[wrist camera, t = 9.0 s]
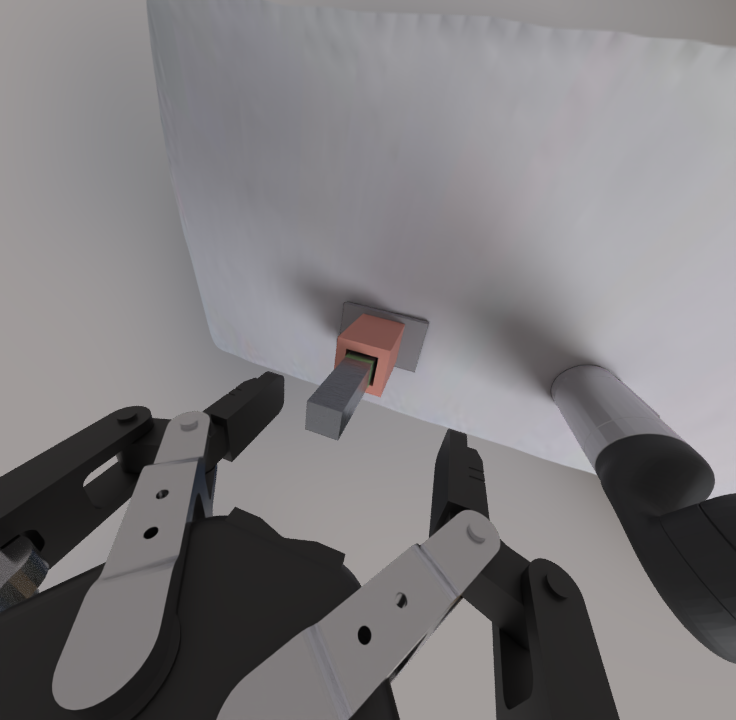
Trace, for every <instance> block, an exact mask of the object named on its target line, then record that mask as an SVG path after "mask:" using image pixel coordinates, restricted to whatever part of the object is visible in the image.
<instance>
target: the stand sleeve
mask: <svg viewBox="0 0 736 720" xmlns="http://www.w3.org/2000/svg"><path fill="white" fill-rule="evenodd" d="M428 324H429V322H427V321H423V320H419V319H415V318H411V317H407V316H403V315H399V314H395V313H391V312H387V311H383V310H379V309H375V308H371V307H367V306H363V305H359V304H355V303H351V302H345V303H344V306H343V315H342V323H341V331H340V335H339V336H338V339H337V348H336V357H335V365H334V369H335V368H336V367H337V366H338V365H339V363H340V362H341V361H342V360H343V359H344V358H345V356H346V355H347V353H349V352H350V351H351V350H353V351H356V352H360V353H363V354H367V355H370V356H374V357H378V363H377V368H376V373H375V375H374V377H373V378H372V380H371V382H370V385H369V387H368V388H367V389H366V391H365V392H366V393H369V394H372V395H375V396H379V397H381V394H382V392H383V390H384V388H385V385H386V383H387V381H388V379H389V377H390V374H391V372H392V370H393V368H394V367H397V368H401V369H405V370H408V371H412V372H415V369H416V366H417V362H418V359H419V355H420V352H421V349H422V345H423V342H424V338H425V335H426V331H427V328H428Z"/></svg>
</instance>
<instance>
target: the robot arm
mask: <svg viewBox="0 0 736 720" xmlns="http://www.w3.org/2000/svg"><path fill="white" fill-rule="evenodd" d="M551 394H552V397H553V400H554V401H555V403H556V405H557V406H558V408H559V410H560V412H561V414H562V415H563V417H564V419H565V420H566V422H567V424H568V426H569V427H570V429H571V431H572V432H573V434H574V436H575V438H576V439H577V441H578V443H579V444H580V446H581V448H582V450H583V451H584V453H585V455H586V456H587V458H588V460H589V461H590V463H591V465H592V467H593V468H594V470H595V472H596V473H597V475H598V477H599V479H600V480H601V485H602V487H603V490H604V492H605V494H606V495H607V497H608V499H609V501H610V503H611V504H612V506H613V508H614V510H615V512H616V514H617V516H618V518H619V520H620V522H621V524H622V526H623V529H624V531H625V533H626V534H627V537H628V539H629V541H630V543H631V545H632V547H633V549H634V551H635V553H636V555H637V557H638V559H639V561H640V562H641V564H642V566H643V568H644V570H645V572H646V573H647V575H648V577H649V578H650V580H651V582H652V583H653V585H654V587H655V588H656V590H657V591H658V593H659V594H660V596H661V597H662V599H663V600H664V601H665V603H666V604H667V606H668V607H669V608H670V609H671V611H672V612H673V613H674V615H675V616H676V617H677V618H678V620H679V621H680V622H681V623H682V624H683V625H684V627H685V628H686V629H687V630H688V631H689V632H690V633H691V634H692V635H693V636H694V637H695V638H696V639H697V640H698V641H699V642H700V643H702V644H703V645H704V646H705V647H707V648H708V649H709V650H710V651H712V652H713V653H715V654H716V655H718V656H719V657H722V658H723V659H725V660H727V661H729V662H733V663H736V493H735V494H728V495H723V496H719V497H715V498H712V499H709V500H706V499H707V498H708V497H709V495H710V494H711V492H712V490H713V488H714V484H715V478H714V473H713V471H712V469H711V467H710V465H709V464H708V463H707V462H706V460H705V459H704V458H703V457H702V456H701V455H700V454H698V453H697V452H696V451H695V450H694V449H693V448H692V447H691V446H690V445H688V444H687V443H686V442H685V441H684V440H683V439H682V438H681V437H680V436H679V435H678V434H676V433H675V432H674V431H673V430H672V429H671V428H670V427H669V426H668V425H666V424H665V423H664V422H663V421H662V420H661V419H660V416H659V415H658V414H657V413H656V412H655V411H654V410H653V409H652V408H651V407H650V406H649V405H647V404H646V403H645V402H644V401H643V400H642V399H641V398H640V397H639V396H637V395H636V394H635V393H634V392H633V391H632V390H631V389H630V388H629V387H628V386H626V385H625V384H624V383H623V382H622V381H619V380H618V379H617V378H616V377H615V376H613V375H612V374H611V373H610V372H609V371H607V370H606V369H604V368H602V367H598V366H593V365H582V366H577V367H573V368H571V369H568V370H566V371H564V372H563V373H561V374H560V375H559V376H558V377H557V378H556V379H555V381H554V382H553V385H552V388H551ZM283 404H284V377H283V376H282V375H278V374H276V373H272V372H269V371H268V372H265V373H264V374H263V375H261V376H260V377H259V378H258V379H257V378H253V379H250V380H248V381H245V382H243V383H242V384H240V385H239V386H238V387H236V389H233V390H232V391H231V392H229V394H226V395H225V396H223V397H222V398H221V399H219V400H218V401H217V402H215V403H214V404H212V405H211V406H210V407H208V408H207V409H205V410H204V411H203V412H198V411H192V412H187V413H183V414H180V415H178V416H176V417H175V418H173V419H172V420H171V419H170V420H169V419H157V418H152V415H151V412H150V410H149V409H148V408H146V407H143V406H132V407H126V408H123V409H120V410H117V411H115V412H113V413H111V414H109V415H108V416H106V417H104V418H102V419H101V420H99V421H97V422H95V423H94V424H92V425H90V426H88V427H87V428H85V429H83V430H81V431H80V432H78V433H76V434H75V435H73V436H71V437H69V438H68V439H66V440H64V441H62V442H60V443H59V444H57V445H55V446H54V447H52V448H50V449H48V450H47V451H45V452H43V453H41V454H40V455H38V456H36V457H34V458H33V459H31V460H29V461H27V462H26V463H24V464H22V465H21V466H19V467H17V468H15V469H14V470H12V471H10V472H8V473H7V474H5V475H3V476H1V477H0V720H400V718H399V714H398V711H397V707H396V703H395V700H394V696H393V692H392V688H391V683H392V682H393V680H394V679H395V678H396V677H397V676H398V675H399V673H400V672H401V671H402V670H403V669H404V668H405V667H406V665H407V664H408V663H409V662H410V660H412V658H413V657H414V656H415V655H416V654H417V652H418V651H419V650H420V648H421V647H422V646H423V645H424V644H425V642H426V641H427V640H428V639H429V637H430V636H431V635H432V634H433V633H434V631H435V630H436V629H437V628H438V627H439V626H440V624H441V623H442V622H443V621H444V620H445V618H446V617H447V616H448V615H449V614H450V613H451V612H452V610H453V609H454V608H455V607H456V606H457V605H458V603H459V602H460V601H461V600H462V599H463V598H465V599H466V600H467V601H468V602H469V603H471V604H472V605H473V606H474V607H475V608H476V609H478V610H479V611H480V612H481V613H482V614H484V615H485V616H486V617H487V618H488V619H489V620H491V621H492V630H493V654H494V676H495V697H496V718H497V720H620V719H619V716H618V712H617V709H616V706H615V702H614V699H613V696H612V692H611V689H610V686H609V682H608V679H607V676H606V672H605V669H604V666H603V663H602V659H601V656H600V652H599V649H598V646H597V642H596V639H595V636H594V633H593V629H592V626H591V622H590V619H589V615H588V612H587V609H586V605H585V602H584V599H583V596H582V594H581V592H580V590H579V588H578V586H577V585H576V583H575V582H574V581H573V579H572V578H571V577H570V576H569V575H568V574H567V573H566V572H565V571H564V570H563V569H562V568H561V567H559V566H558V565H557V564H555V563H553V562H551V561H549V560H546V559H541V558H538V559H535V560H533V561H532V562H529V561H528V560H526V559H525V558H523V557H522V556H521V555H519V554H518V553H516V552H515V551H514V550H512V549H511V548H509V547H508V546H507V545H505V543H504V542H503V541H501V539H500V537H499V534H498V532H497V530H496V528H495V527H494V525H493V524H492V523H491V522H490V520H489V512H488V504H487V495H486V487H485V483H484V482H485V478H484V474H483V472H484V471H483V462H482V459H481V457H480V456H479V454H478V452H477V450H475V449H472V448H469V447H467V435H466V434H465V433H462V432H458V431H455V430H452V429H448V430H447V433H446V435H445V437H444V440H443V442H442V445H441V448H440V450H439V452H438V455H437V459H436V463H435V472H434V483H433V496H432V508H431V519H430V531H429V539H428V540H426V541H425V542H424V543H423V544H421V545H419V544H415V545H413V546H411V547H410V548H409V549H407V550H406V551H405V552H404V553H402V554H401V555H400V556H399V557H398V558H396V559H395V560H394V561H393V562H391V563H390V564H389V565H388V566H387V567H385V568H384V569H383V570H382V571H380V572H379V573H378V574H377V575H376V576H374V577H373V578H372V579H371V580H370V581H368V582H367V583H366V584H365V585H363V586H362V587H361V585H360V583H359V582H358V580H357V579H356V577H355V576H354V575H353V574H352V572H351V571H350V570H349V569H348V568H347V567H345V565H343V562H344V557H345V554H344V553H341V552H339V551H337V550H335V549H332V548H330V547H328V546H325V545H323V544H321V543H318V542H314V541H306V540H297V539H289V538H284V537H282V536H280V535H279V534H278V533H277V532H276V531H275V530H274V529H273V528H271V527H270V526H269V525H268V524H267V523H266V522H265V521H264V520H263V519H261V518H260V517H257V516H255V515H253V514H250V513H248V512H246V511H244V510H241V509H239V508H237V507H235V508H234V509H233V510H232V512H231V513H230V514H229V515H228V516H213V500H214V492H215V484H216V475H217V463H218V462H219V461H220V460H221V459H222V458H223V459H226V460H228V461H231V462H232V461H233V460H234V459H235V458H236V457H237V456H238V455H239V454H240V453H241V452H242V451H243V450H244V449H245V448H246V447H247V446H248V445H249V444H250V443H251V442H252V441H253V440H254V439H255V437H257V435H258V434H259V433H260V432H261V431H262V430H263V429H264V428H265V427H266V426H267V425H268V424H269V423H270V422H271V421H272V420H273V419H274V418H275V417H276V416H277V415H278V414H279V412H280V410H281V409H282V407H283ZM115 455H116V457H117V459H118V462H117V463H115V464H114V465H113V466H111V467H110V468H109V469H107V470H106V471H105V472H103V473H102V474H101V475H99V476H98V477H97V478H95V479H94V480H92V481H91V482H90V483H88V484H87V485H86V486H84V487H83V483H84V481H85V479H86V478H87V476H88V475H89V474H90V473H91V472H93V471H94V470H95V469H97V468H98V467H100V466H101V465H102V464H104V463H105V462H107V461H108V460H109V459H111V458H112V457H114V456H115ZM129 498H131V500H130V502H129V505H128V507H127V510H126V513H125V515H124V518H123V520H122V523H121V526H120V528H119V530H118V533H117V536H116V538H115V541H114V543H113V546H112V549H111V551H110V553H109V556H108V559H107V561H106V562H105V563H103V564H101V565H99V566H97V567H94V568H92V569H90V570H88V571H86V572H84V573H82V574H79V575H77V576H75V577H73V578H71V579H68V580H66V581H64V582H62V583H60V584H58V585H56V586H53V587H51V588H49V589H47V590H45V591H43V592H41V593H39V589H38V587H39V586H40V585H41V583H42V582H43V580H44V579H45V577H46V575H47V573H48V570H49V569H51V568H52V567H53V566H54V565H55V564H56V563H57V562H58V561H59V560H61V559H62V558H63V557H64V556H65V555H66V554H67V553H68V552H70V551H71V550H72V549H73V548H74V547H75V546H76V545H78V544H79V543H80V542H81V541H82V540H83V539H84V538H85V537H87V536H88V535H89V534H90V533H91V532H92V531H93V530H94V529H96V527H98V526H99V525H100V524H101V523H102V522H103V521H105V520H106V519H107V518H108V517H109V516H110V515H111V514H112V513H114V512H115V511H116V510H117V509H118V508H119V507H120V506H121V505H123V504H124V503H125V502H126V501H127V500H128V499H129ZM705 500H706V501H705Z"/></svg>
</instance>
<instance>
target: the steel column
mask: <svg viewBox="0 0 736 720" xmlns="http://www.w3.org/2000/svg"><path fill="white" fill-rule="evenodd" d="M377 363H378V357H374V356H370V355H367V354H363V353H360V352H356V351H353V350H351V351H350V352H349V353H347V355H346V356H345V358H344V359H343V360H342V361H341V362H340V363H339V365H338V366H337V367H336V368H335V369H334V370H333V372H332V373H331V374H330V375H329V376H328V377H327V378H326V380H325V381H324V382H323V383H322V384H321V385H320V387H319V388H318V389H317V390H316V392H314V394H313V395H312V396H311V397H310V398H309V399H308V401H307V409H306V425H305V429H306V430H309V431H312V432H315V433H318V434H321V435H324V436H326V437H329V438H332V439H335V440H339V438H340V436H341V434H342V433H343V431H344V429H345V427H346V425H347V424H348V422H349V420H350V418H351V416H352V415H353V413H354V411H355V409H356V407H357V405H358V404H359V402H360V400H361V398H362V396H363V395H364V393H365V391H366V389H367V388H368V387H369V385H370V382H371V380H372V378H373V377H374V375H375V373H376V368H377Z"/></svg>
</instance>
